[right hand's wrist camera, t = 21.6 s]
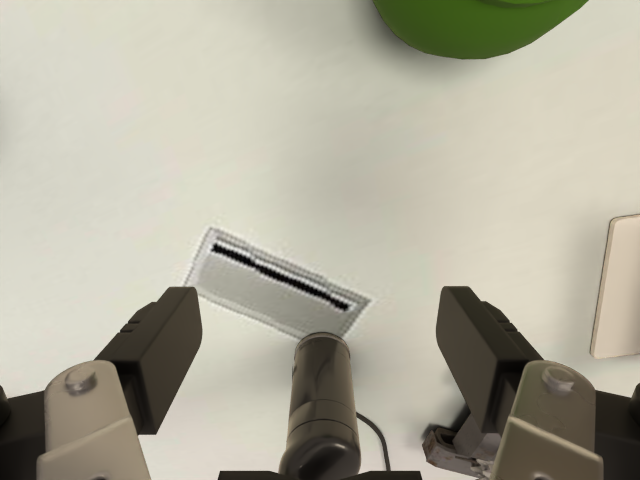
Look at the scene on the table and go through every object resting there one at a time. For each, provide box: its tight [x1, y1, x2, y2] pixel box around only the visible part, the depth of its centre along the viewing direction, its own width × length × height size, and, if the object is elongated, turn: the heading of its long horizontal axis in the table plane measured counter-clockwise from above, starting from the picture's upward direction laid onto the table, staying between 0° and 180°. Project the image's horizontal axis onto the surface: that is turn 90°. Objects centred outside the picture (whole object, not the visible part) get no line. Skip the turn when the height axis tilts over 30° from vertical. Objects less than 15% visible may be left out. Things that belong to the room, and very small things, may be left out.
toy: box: [422, 413, 501, 480], centre depth 58 cm, size 25×20×15 cm
